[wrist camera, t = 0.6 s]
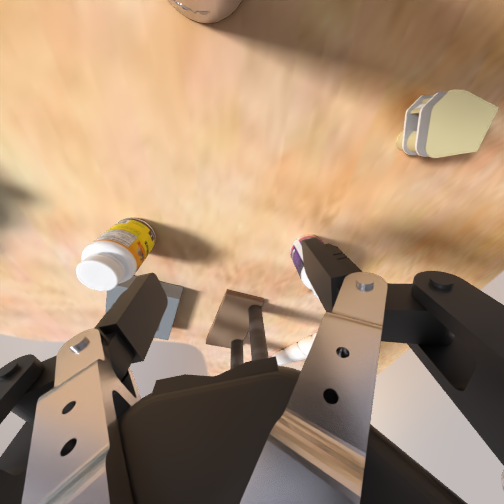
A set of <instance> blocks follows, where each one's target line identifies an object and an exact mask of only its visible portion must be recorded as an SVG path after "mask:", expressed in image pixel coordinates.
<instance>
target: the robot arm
mask: <svg viewBox="0 0 504 504" xmlns="http://www.w3.org/2000/svg"><path fill="white" fill-rule="evenodd" d="M168 1H169V2H170V3H171V4H172V5H173V6H174V7H175V8H176V10H177V11H179V12H180V13H182V14H183V15H184V16H186V17H187V18H189V19H192V20H194V21H197V22H201V23H213V22H218V21H221V20H222V19H224V18H226V17H228V16H229V15H230V14H231V13H232V12H234V11H235V10H236V9H237V7H238V6H239V4H240V3H241V1H242V0H168ZM302 253H303V262H304V269H305V273H306V275H307V277H308V279H309V281H310V283H311V285H312V286H313V288H314V290H315V292H316V294H317V296H318V297H319V299H320V301H321V303H322V305H323V306H324V308H325V310H326V313H325V315H324V317H323V320H322V322H321V324H320V327H319V329H318V332H317V334H316V337H315V339H314V341H313V344H312V346H311V349H310V351H309V354H308V356H307V358H306V361H305V363H304V366H303V368H302V370H301V371H299V370H296V369H293V368H289V367H283V366H278V363H277V359H276V356H274V357H269V358H264V359H259V360H255V361H250V362H245V363H243V364H241V365H239V366H237V367H235V368H233V369H230V370H228V371H226V372H224V373H222V374H220V375H217V376H213V377H211V376H197V375H181V376H176V377H171V378H166V379H161V380H157V381H156V384H155V386H154V389H153V392H152V393H151V394H149V395H147V396H145V397H144V398H142V399H141V397H140V394H139V391H138V388H137V385H136V382H135V379H134V376H133V373H132V371H131V370H130V369H129V367H130V364H131V363H136V362H141V361H144V359H145V356H146V354H147V352H148V349H149V347H150V345H151V342H152V340H153V338H154V336H155V333H156V331H157V329H158V326H159V324H160V322H161V319H162V317H163V315H164V312H165V310H166V308H167V305H168V299H167V295H166V293H165V291H164V289H163V287H162V286H161V284H160V282H159V280H158V278H157V276H156V275H155V274H154V273H149V274H144V275H140V276H137V277H136V279H135V280H134V281H133V282H132V284H131V285H130V286H129V288H128V289H127V290H125V291H124V292H123V293H122V294H121V295H120V296H119V297H118V299H117V300H116V303H114V304H113V305H112V306H111V309H109V310H108V311H107V313H106V314H105V315H104V317H103V318H102V319H101V320H100V322H99V323H98V324H97V326H96V327H95V328H94V329H89V330H86V331H83V332H81V333H79V334H78V335H76V336H74V337H73V338H71V339H70V340H69V341H68V342H66V343H65V344H64V345H63V346H62V347H61V349H60V350H59V352H58V353H57V356H54V357H52V358H50V359H47V360H45V361H43V362H40V361H39V360H38V359H37V358H36V357H35V356H34V355H25V356H22V357H19V358H17V359H15V360H13V361H12V362H10V363H8V364H7V365H5V366H4V367H2V368H1V369H0V424H1V422H2V421H3V420H4V419H5V418H6V416H7V415H8V414H9V413H10V411H12V412H13V413H15V414H16V415H18V416H19V417H21V418H22V419H24V420H25V421H26V423H25V424H24V425H23V427H22V428H21V429H20V431H19V432H18V434H17V435H16V437H15V438H14V439H13V441H12V442H11V443H10V445H9V446H8V447H7V449H6V450H5V452H4V453H3V454H2V456H1V457H0V504H467V503H466V502H465V501H463V500H462V499H461V498H460V497H459V496H457V495H456V494H455V493H454V492H453V491H451V490H450V489H449V488H448V487H446V486H445V485H444V484H443V483H442V482H440V481H439V480H438V479H437V478H435V477H434V476H433V475H432V474H431V473H429V472H428V471H427V470H425V469H424V468H423V467H422V466H421V465H420V464H418V463H417V462H416V461H415V460H413V459H412V458H411V457H409V456H408V455H407V454H406V453H405V452H404V451H402V450H401V449H400V448H399V447H398V446H396V445H395V444H394V443H393V442H391V441H390V440H389V439H388V438H387V437H385V436H384V435H383V434H382V433H380V432H379V431H378V430H377V429H375V428H374V427H373V426H372V425H371V424H370V420H371V412H372V405H373V397H374V389H375V381H376V373H377V366H378V358H379V350H380V342H381V341H386V342H397V343H407V344H408V345H409V347H410V348H411V349H412V350H413V352H414V353H415V354H416V355H417V356H418V358H419V359H420V360H421V362H422V363H423V364H424V365H425V367H426V368H427V369H428V370H429V372H430V373H431V374H432V376H433V377H434V378H435V379H436V381H437V382H438V383H439V384H440V386H441V387H442V388H443V390H444V391H445V392H446V393H447V394H448V396H449V397H450V398H451V400H452V401H453V402H454V403H455V405H456V406H457V407H458V408H459V410H460V411H461V412H462V414H463V415H464V416H465V417H466V418H467V420H468V421H469V422H470V424H471V425H472V426H473V427H474V429H475V430H476V431H477V432H478V434H479V435H480V436H481V438H482V439H483V440H484V441H485V443H486V444H487V445H488V446H489V448H490V449H491V450H492V451H493V453H494V454H495V455H496V457H497V458H498V459H499V460H500V461H501V463H502V464H503V465H504V305H503V304H501V303H499V302H498V301H496V300H495V299H493V298H491V297H490V296H488V295H487V294H485V293H484V292H482V291H480V290H479V289H477V288H476V287H474V286H473V285H471V284H469V283H468V282H466V281H465V280H463V279H461V278H460V277H457V276H455V275H452V274H449V273H445V272H439V271H425V272H421V273H418V274H417V275H415V277H414V280H413V284H389V283H387V282H386V281H385V280H384V279H383V278H382V277H380V276H378V275H376V274H373V273H368V272H362V271H361V270H360V269H359V268H358V267H357V266H356V265H355V264H354V263H353V262H352V261H351V260H350V259H349V258H347V256H346V255H345V254H344V253H343V252H342V251H341V250H340V249H339V248H338V247H336V246H333V245H331V244H325V245H324V244H323V243H322V242H321V241H320V240H319V239H318V238H317V237H313V238H309V239H304V240H302ZM502 486H503V489H504V470H503V473H502Z"/></svg>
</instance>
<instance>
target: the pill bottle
mask: <svg viewBox="0 0 504 504" xmlns="http://www.w3.org/2000/svg"><path fill="white" fill-rule="evenodd" d="M313 237H316V236H314V235H304V236H301V237H299V238H298V239H296V240H295V241H294V242H293V244H292V246H291V248H290V255H291V258H292V260H293V263H294V265H295V267H296V269H297V271H298V273H299V276H300V278H301V280H302V282H303V283H304V285H305V286H306V287H308V288H309V289H312V291H313V293H314V294H315V296H316V297H317V298H319V297H318V296H317V294H316V292H315V290H314V288H313V286H312V285H311V283H310V281H309V279H308V277H307V275H306V273H305V269H304V262H303V253H302V240H304V239H309V238H313ZM317 238H318V237H317ZM318 239H319V238H318ZM319 240H320V239H319ZM320 241H321V240H320ZM321 242H322V241H321ZM322 243H323V242H322ZM323 244H324V243H323Z"/></svg>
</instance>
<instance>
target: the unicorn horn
mask: <svg viewBox="0 0 504 504" xmlns="http://www.w3.org/2000/svg"><path fill="white" fill-rule="evenodd" d="M316 334H317V332H316V333H314V334H312V336H308V337H306V338H304V339H302V340H300V341H298V343H294V344H292V345H290V346H288V347H286V348H285V350H281V351H279V352H277V353H275V354H273V355H272V357H274V356H276V359H277V363H278V366H279V365H283V364H288V363H292V362H296V361H300V360H304V359H306V358H307V356H308V354H309V351H310V349H311V346H312V344H313V341H314V339H315V337H316ZM269 357H270V356H269ZM269 357H268V358H269Z"/></svg>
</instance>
